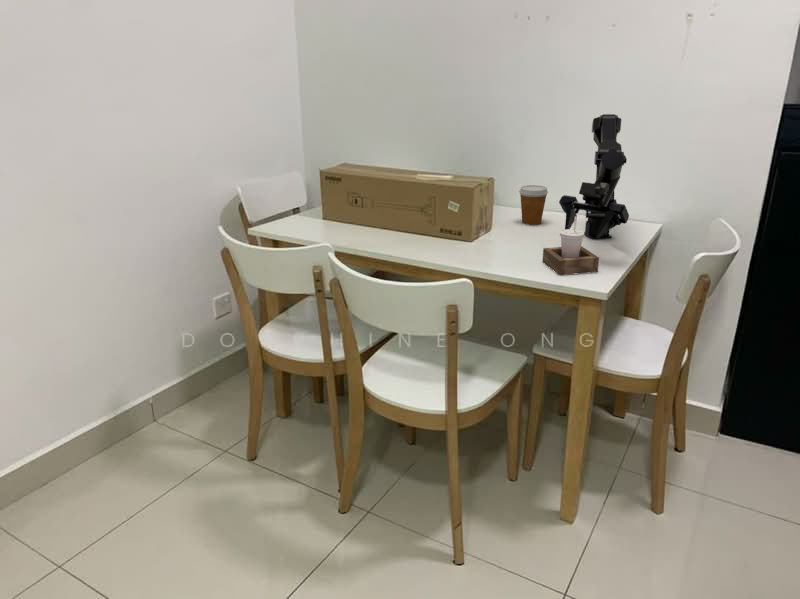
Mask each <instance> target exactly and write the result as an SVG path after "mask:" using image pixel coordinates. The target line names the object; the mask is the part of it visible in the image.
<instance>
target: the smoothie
mask: <svg viewBox="0 0 800 599" xmlns="http://www.w3.org/2000/svg"><path fill="white" fill-rule="evenodd" d="M577 220H578V215H577V216H575V220H574V223H573V229H572V228H570V229H566V230H565V229H563V230H560V232H559V237H560V247H561V249H562V258H563V259H564V258H576V257H579V253H580V248H581V246H582V244H583V239H584V238H585V234H584V232H585V231H583V230H579V229H577Z"/></svg>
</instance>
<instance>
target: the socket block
mask: <svg viewBox="0 0 800 599" xmlns="http://www.w3.org/2000/svg"><path fill="white" fill-rule="evenodd" d="M599 262H600V257H599V256H598V255H596V254H594V253H593V252H591V251H590V250H588V249H587V248H585V247H584V246H582V245H581V248H580V253H579V257H576V258H564V259H563V258H562V249H561V246H557V247H556V246H554V247H544V248H543V251H542V263H543V264H544V263H545V264H544V265H545V266H546V267H548V268H549V267H550V268H549V269H550V270H552V271H553V270H554V271H555V272H556V273H555V272H554V271H553V272H554V273H555V274H556V275H558V276H563V275H564V274H567V275H575V274H574V273H578V274H588V272H590V273H598V271H599V265H600V264H599Z"/></svg>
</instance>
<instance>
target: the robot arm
mask: <svg viewBox="0 0 800 599" xmlns="http://www.w3.org/2000/svg"><path fill="white" fill-rule="evenodd" d="M591 125H592V126H591V133H593V141H594V143H595V144H596V146H597V151H595V152H594V163H593V164H594V165H595V166H596V173H595V174H596V175H595V181H594V183H592V182H587V181H586V182H584V181H582V182H581V185H580V188H579V193H578V194H579V195H582V200H583V201H584V202H579V201H578V199H577V197H576V196H572V195H566V194H564V195H562V196H561V197H560V199H559V201H558V204H559V206H560V207H561V209H562V210H563V211H562V212H564V213H565V221H564V222H565V223H564V230H566V229H572V226H573V225H574V220H575V216H577V217H578V215H577V214H578V213H579V211H580V210H581V211H585V219H587V220H586V221H585V226H584V227H585V228H584V231H583V232H584V236H586V237H589V238H590V239H592V240H594V239H595V240H599V239H611V238H612V237H613V236H612V235H611V234H610V230H611V229H613V228H615V227H616V226H621V225H622V224H627V223H628V220H629V218H630V213H629V211H628V209H627V206H626V204H622V203H618V202H617V199H615V189H616V187H617V185H618V183H619V181H620V178H621V173H622V168H623V166H624V165H625V164H627V157H626V155H625V152H624V151H622V149H623V148H622V144H621V143H620V142H618V141H617V138H618V133H619V134H620V132H621V130H622V129H621V128H622V118H621V117H619V116H618V114H614V113H613V114H611V113H605V114H602V115H601V114H600V116H598V117H594V118H593V119H592V124H591Z"/></svg>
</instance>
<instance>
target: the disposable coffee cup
mask: <svg viewBox="0 0 800 599" xmlns="http://www.w3.org/2000/svg"><path fill="white" fill-rule="evenodd" d="M518 192H519V194H520V209H521V223H522V224H524V225H527V224H529V225H528V226H536V225H537V224H538V225H541V223H542V218H543V215H544V214H543V213H544V209H545V205H546V199H547V195H548V194H549V191H548V187H546V186H544V185H535V184H534V185H533V184H529V185H527V184H526V185H522V186H521V187H520V189H519V191H518Z"/></svg>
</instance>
